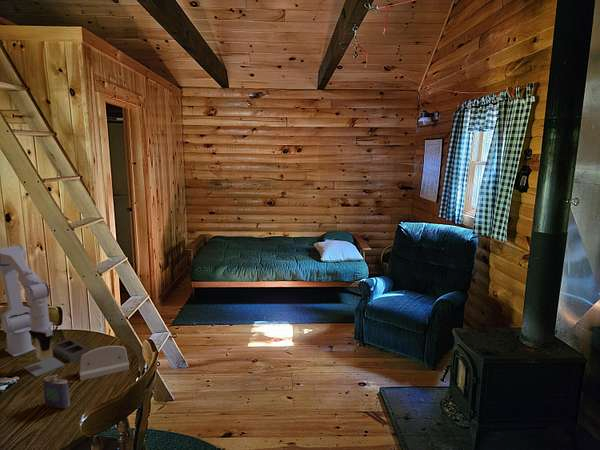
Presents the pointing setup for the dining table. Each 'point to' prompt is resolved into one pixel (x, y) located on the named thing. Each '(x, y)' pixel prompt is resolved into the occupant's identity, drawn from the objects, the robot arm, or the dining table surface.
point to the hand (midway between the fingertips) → (43, 348)
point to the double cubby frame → (69, 349)
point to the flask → (56, 392)
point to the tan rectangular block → (40, 353)
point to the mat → (44, 366)
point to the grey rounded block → (103, 362)
